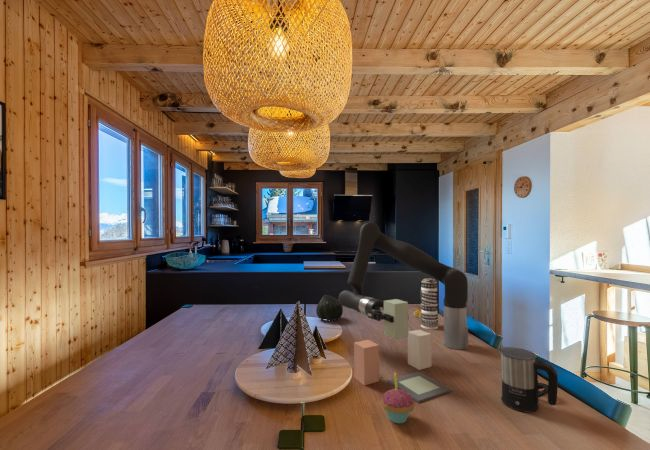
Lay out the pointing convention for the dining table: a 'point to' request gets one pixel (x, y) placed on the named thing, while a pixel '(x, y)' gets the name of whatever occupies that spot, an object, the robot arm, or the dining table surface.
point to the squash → (329, 308)
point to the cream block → (419, 349)
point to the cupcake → (397, 403)
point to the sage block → (396, 318)
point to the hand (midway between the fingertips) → (400, 318)
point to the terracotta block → (366, 362)
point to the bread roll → (418, 313)
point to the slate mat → (420, 386)
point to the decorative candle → (429, 303)
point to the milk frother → (525, 380)
